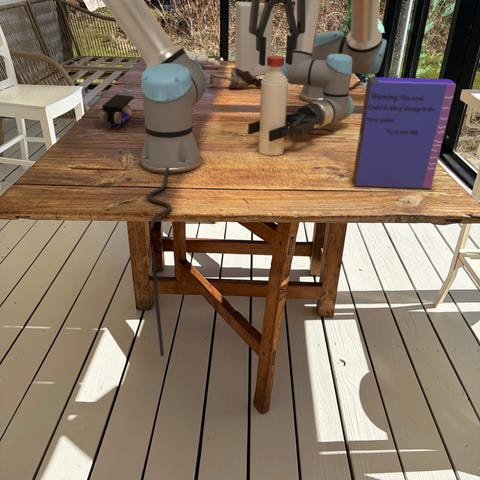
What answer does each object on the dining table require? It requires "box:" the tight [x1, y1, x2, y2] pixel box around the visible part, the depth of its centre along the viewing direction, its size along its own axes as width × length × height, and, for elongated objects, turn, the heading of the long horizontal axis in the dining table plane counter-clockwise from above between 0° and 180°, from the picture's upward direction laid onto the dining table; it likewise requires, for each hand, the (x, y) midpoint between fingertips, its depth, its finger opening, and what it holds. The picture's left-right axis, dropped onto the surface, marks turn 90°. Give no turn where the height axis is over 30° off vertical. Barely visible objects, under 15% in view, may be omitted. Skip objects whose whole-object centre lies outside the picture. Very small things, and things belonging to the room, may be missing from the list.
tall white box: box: [234, 1, 274, 77], centre depth 210 cm, size 19×15×28 cm
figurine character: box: [98, 94, 135, 130], centre depth 148 cm, size 7×8×15 cm
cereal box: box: [352, 76, 457, 190], centre depth 107 cm, size 17×5×24 cm, turn 86°
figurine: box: [209, 66, 262, 89], centre depth 190 cm, size 24×8×30 cm
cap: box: [267, 55, 285, 67], centre depth 120 cm, size 4×4×2 cm
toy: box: [185, 50, 221, 69], centre depth 223 cm, size 24×25×7 cm
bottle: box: [258, 66, 289, 156], centre depth 126 cm, size 7×7×24 cm
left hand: (275, 64), depth 120 cm, fingers open, 6 cm apart
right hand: (259, 132), depth 126 cm, fingers closed on bottle, 7 cm apart
